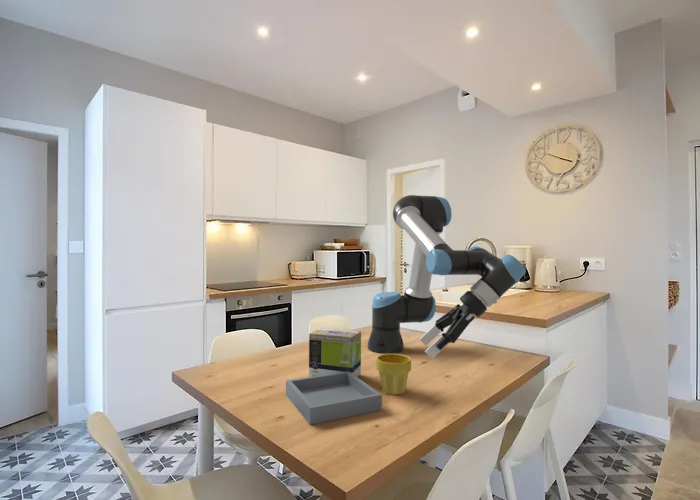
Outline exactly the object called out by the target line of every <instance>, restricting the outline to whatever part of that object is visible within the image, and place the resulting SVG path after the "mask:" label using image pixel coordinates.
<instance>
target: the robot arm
mask: <svg viewBox="0 0 700 500" xmlns="http://www.w3.org/2000/svg"><path fill="white" fill-rule="evenodd" d="M452 213H453V212H452V207H451V205H450V202H449V201H448V199H446V198H445V197H442V196H436V195H435V196H434V195H415V194H410V195H406V196H403V197H401V198H400V199H398V201H396V203H395V205H394V206H393V210H392V216H393V217H392V218H393V221H394V222H395V224H396V225H397V227H399V229H402V230H404V232H406V234H407V235H409V237H410V238H411V239H412V240H413V242H414V250H413V258H412V264H411V270H410V278H409V284H408V285H409V286H407V287H405V288H404V294H401V292H400V291H385V292H379V293H376V294H375V295H373V297H372V305H371V308H372V309H371V310H372V311H371V312H372V314H371V315H372V317H371V318H372V319H371V322H372V323H371V332H370V334H369V337H368V340H367V350H369V351H372V352H373V353H374V352H375V353H378V354H379V353H381V354H398V353H401V352H402V351H404V347H405V345H404V344H405V343H404V340H403V337H402V334H401V324H404V323H406V324H407V323H408V324H409V323H424V322H426V323H427V322H429V321H431V320H432V319H433V318H434V316H435V314H436V310H437V305H436V299H435V297H434V296H433V292H432V291H431V289H430V287H431V282H432V281H431V280H432V276H433V275H436V276H437V275H438V276H455V275H456V276H458V275H461V276H471V275H472V276H474V275H475V276H480V278H479V279H478V280H476V282H475V283H474V284H473V285H472V286H470V288H469V290H466V291H465V292H464V293H463V294H462V295H461V296H460V297H459V300H460V302H461V303H462V305H460V304H459V303H457V304H456V305H455V306H453V308H452V309H450V310H449V311H447V312H446V313H445V314H443V315H442V316H441V317H439V318H438V319H436V320H435V324H434V325H433V326H432V327H431V328H430V329H429V330H427V332H426V333H424V334H423V335H422V336H421V337H420V338H419V341H421V343H422V344H423V345H424V346H425V347H426V346H428V345H429V344H430V343H431V342H432V341H433V340H434V339H435V338H436V337H437V336H438V335H440V334H441V336H439V337H438V338H436V340H435V341H434V342H433V343H432V344H431V345H430V346H428V348H427V349H426V350H424V353H426V355H427V356H429V358H431V360H433V359H434V358H435V357H436V356H437V355H439V353H440V352H442V350H443V349H445V348H446V347H447V346H448V345H449V344H451V343H452V344H454V343H456V341H457V340H458V339H459V338H460V336H461V335H462V334H463V333H464V331H465V330H466V329H467V327H468V326H469V324H470V323H472V321H474V320H475V317H479V318H480V317H481V316H482V315H483V314H484V313H485V312H487V310H488V308H490V307H492V305H493V304H497V303H498V300H499V299H500V298H501V297H502V296H503V295H504V294H506V293H507V291H509V290H510V289H511V288H512V287H513V286H515V284H517V283H518V282H519V281H520V279H522V277H524V275H525V274H526V273H527V272H526V271H527V270H526V267H525V266H524V265H523V264H522V263H521V261H519V260H518V259H517V258H516V257H515V256H513V255H511V254H505V255H504V256H503V257H501V258H499V257H497V256H496V255H494V254H493V253H492V252H489V251H488V250H487V249H485V248H483V247H480V246H472V247H470V248H468V249H467V250H463V249H462V250H461V249H460V250H459V249H457V250H456V249H455V250H454V249H452V247H451V246H450V245H449V244H448V243H446V241H445V240H444V239H443V238H442V237H441V236H440V234H442V233H443V232H444V227H448V225H449V224H451V221H452ZM446 328H447V330H446V332H444V330H445V329H446Z"/></svg>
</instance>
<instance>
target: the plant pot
mask: <svg viewBox="0 0 700 500" xmlns="http://www.w3.org/2000/svg"><path fill="white" fill-rule="evenodd" d="M375 363H376V364H375V365H376V370H377V371H378V374H379V379H380V384H381V390H382V392H383V393H384V394H388V395H395V396H396V395H401V394H404V393H405V392H406V387H407V381H408V376H409V373H410V372H411V371H412V358H411V357H410V356H407V355H405V354H400V353H381V354H380V355H379V354H378V356H377V357H376V361H375Z"/></svg>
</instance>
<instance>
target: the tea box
mask: <svg viewBox="0 0 700 500" xmlns="http://www.w3.org/2000/svg"><path fill="white" fill-rule="evenodd" d="M361 369H362V331H361V330H350V329H340V328H339V329H338V328H327V327H325V328H324V327H319V328H318V329H316V330H313V331H312V332H310V333H309V334H308V377H313V376H319V375H326V374H333V373H340V372H347V371H349V372H350V373H352V374H353V375H355V376H356V377H357V378H359V377H360V375H361V371H362V370H361Z"/></svg>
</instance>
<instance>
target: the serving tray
mask: <svg viewBox="0 0 700 500" xmlns="http://www.w3.org/2000/svg"><path fill="white" fill-rule="evenodd" d="M285 395H286V397H288V399H289V400H290V401H291V403H292V405H294V407H295V408H296V409H297V410H298V412H299V413H300V414H301V415H302V417H303V418H304V419H305V421H306V422H307V423H308V424H309V426H310V425H315V424H320V423H324V422H330V421H334V420H335V421H336V420H339V419H343V418H344V419H345V418H349V417H353V416H358V415H359V416H360V415H363V414H368V413H373V412H377V411H382V407H383V405H382V404H383V394H381V393H380V392H379V391H377V390H376V389H374V388H373V387H372V386H370V385H369V384H367V383H366V382H364V381H363V380H362V379H360V378H359V377H358V378H357V377H356V376H355V375H353V374H352V373H350V372H349V371H347V372H340V373H333V374H326V375H319V376H313V377H309V376H307V377H306V376H305V377H299V378H292V379H286V380H285Z"/></svg>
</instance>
